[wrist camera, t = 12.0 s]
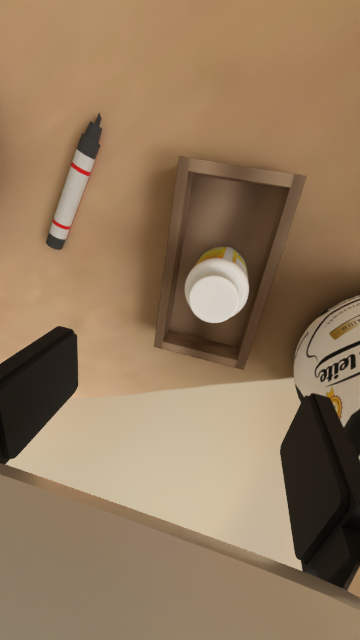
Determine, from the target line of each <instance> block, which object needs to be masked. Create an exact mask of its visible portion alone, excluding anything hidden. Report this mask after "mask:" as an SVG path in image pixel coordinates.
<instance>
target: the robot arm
mask: <svg viewBox="0 0 360 640" xmlns="http://www.w3.org/2000/svg"><path fill="white" fill-rule="evenodd" d="M77 387H78V357H77V335H76V334H74V331H73V330H72V329H69V328H65V327H61V326H58V327H56V328H54V329H53V330H51V331H50V332H48V333H47V334H45V335H44V336H42V337H41V338H39V339H38V340H36V341H35V342H33V343H31V344H30V345H28V346H27V347H25V348H24V349H22V350H21V351H19V352H18V353H16V354H15V355H13V356H12V357H10V358H9V359H7V360H5V361H4V362H2V363H1V364H0V640H360V460H359V458H358V455H357V453H356V451H355V449H354V447H353V445H352V443H351V442H350V441H349V439H348V436H347V434H346V432H345V430H344V427H343V425H342V423H341V421H340V419H339V416H338V414H337V412H336V410H335V407H334V405H333V403H332V401H331V399H330V398H329V397H327V396H323V395H319V394H315V393H311V394H310V396H307V395H306V396H305V397H304V398H303V400H302V402H301V404H300V407H299V409H298V411H297V413H296V415H295V417H294V419H293V421H292V423H291V425H290V428H289V430H288V432H287V434H286V436H285V438H284V440H283V442H282V444H281V450H280V455H281V461H282V468H283V474H284V482H285V489H286V495H287V502H288V509H289V516H290V523H291V529H292V536H293V543H294V550H295V555H296V557H297V559H299V560H301V563H302V569H303V571H300V570H297V569H295V568H292V567H289V566H287V565H284V564H282V563H279V562H277V561H274V560H271V559H268V558H266V557H263V556H261V555H258V554H256V553H253V552H250V551H247V550H245V549H242V548H239V547H236V546H233V545H231V544H228V543H225V542H222V541H219V540H217V539H214V538H211V537H209V536H206V535H203V534H200V533H198V532H195V531H192V530H189V529H186V528H184V527H181V526H178V525H175V524H173V523H170V522H167V521H164V520H161V519H159V518H156V517H153V516H150V515H147V514H144V513H142V512H139V511H136V510H133V509H131V508H128V507H125V506H122V505H119V504H116V503H114V502H110V501H108V500H105V499H102V498H100V497H97V496H94V495H91V494H88V493H85V492H82V491H80V490H77V489H74V488H71V487H68V486H65V485H63V484H60V483H57V482H54V481H51V480H48V479H45V478H42V477H39V476H37V475H34V474H31V473H28V472H25V471H22V470H19V469H16V468H14V467H11V466H8V465H5V464H6V463H7V462H8V461H9V460H10V458H11V459H13V458H15V457H16V456H17V455H18V454H19V453H20V452H21V451H22V450H23V449H24V448H25V447H26V446H27V444H28V443H29V442H30V441H31V440H32V439H33V438H34V437H35V436H36V434H37V433H38V432H39V431H40V430H41V429H42V428H43V427H44V426H45V424H46V423H47V422H48V421H49V420H50V419H51V418H52V417H53V416H54V414H55V413H56V412H57V411H58V410H59V409H60V408H61V407H62V406H63V405H64V403H65V402H66V401H67V400H68V399H69V398H70V397H71V396H72V395H73V394H74V392H75V391H76V389H77Z"/></svg>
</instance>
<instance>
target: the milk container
mask: <svg viewBox="0 0 360 640" xmlns="http://www.w3.org/2000/svg"><path fill="white" fill-rule="evenodd" d="M294 381H295V386H296V390H297V393H298V397H299V399H300V401H301V402H302V400H303V398H304V397H305V396H306V395H307V396H310V394H311V393H315V394H319V395H323V396H327V397H329V398H330V399H331V401H332V403H333V405H334V407H335V410H336V412H337V414H338V416H339V419H340V421H341V423H342V425H343V427H344V430H345V432H346V434H347V436H348V439H349V441H350V442H351V443H352V445H353V447H354V449H355V451H356V453H357V455H358V458H359V460H360V295H357V296H354V297H351V298H348V299H346V300H344V301H342V302H340V303H338V304H336V305H334V306H333V307H331V308H329V309H328V310H326V311H325V312H323V313H322V314H321V315H320V316H319V317H318V318H317V319H315V320H314V321H313V322H312V324H311V325H310V326H309V327H308V328H307V330H306V331H305V332H304V334H303V335H302V337H301V339H300V341H299V343H298V346H297V348H296V352H295V357H294Z"/></svg>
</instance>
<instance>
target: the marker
mask: <svg viewBox="0 0 360 640" xmlns="http://www.w3.org/2000/svg"><path fill="white" fill-rule="evenodd" d="M100 121H101V116H100V113H99V114H98V117H97V120H96V123H95V124H94V123H93V122H90V124H89V126H88V128H87V130H86V132H85V134H82V135H81V138H80V141H79V144H78V147H77V149H76V152H75V155H74V158H73V161H72V164H71V167H70V170H69V173H68V176H67V179H66V182H65V185H64V188H63V191H62V194H61V197H60V200H59V203H58V206H57V209H56V212H55V215H54V218H53V221H52V224H51V227H50V230H49V235H48V238H47V241H46V244H47V245H48V246H50V247H51V248H54V249H57V250H60V249H62V248H63V245H64V242H65V239H66V238H67V235H68V232H69V230H70V227H71V224H72V222H73V219H74V216H75V213H76V211H77V208H78V205H79V203H80V200H81V197H82V194H83V192H84V189H85V186H86V184H87V181H88V178H89V176H90V173H91V170H92V167H93V165H94V162H95V158H96V155H97V153H98V150H99V147H100V144H98V142H99V138H100V134H101V130H102V128H100V127H99V124H100Z"/></svg>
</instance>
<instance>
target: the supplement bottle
mask: <svg viewBox="0 0 360 640" xmlns="http://www.w3.org/2000/svg"><path fill="white" fill-rule="evenodd" d="M248 294H249V283H248V274H247V266H246V262H245V260H244V258H243V257H242V255H241V254H240V253H239V252H238V251H236V250H235V249H233V248H230V247H226V246H218V247H214V248H212V249H209V250H208V251H206V252H205V253H204V254H203V255H202V256H201V258H200V259H199V261H198V262H197V263H196V265H195V266H194V267H193V269H192V270H191V272H190V273H189V275H188V277H187V279H186V283H185V296H186V300H187V302H188V304H189V306H190V308H191V310H192V311H193V313H194V314H195V315H196V316H197V317H198V318H200V319H201V320H203V321H205V322H209V323H219V322H223V321H225V320H227V319H229V318H230V317H232V316H234V315H236V314H237V313H238V312H239V311H240V310H241V309H242V308H243V307H244V305H245V303H246V301H247V299H248Z"/></svg>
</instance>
